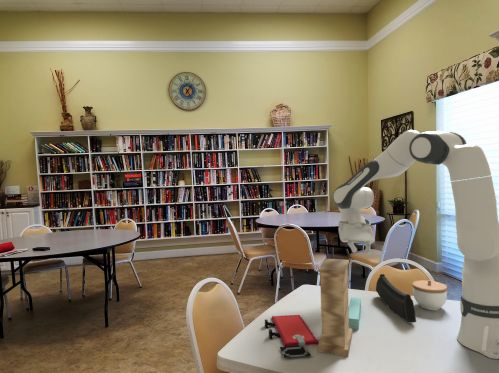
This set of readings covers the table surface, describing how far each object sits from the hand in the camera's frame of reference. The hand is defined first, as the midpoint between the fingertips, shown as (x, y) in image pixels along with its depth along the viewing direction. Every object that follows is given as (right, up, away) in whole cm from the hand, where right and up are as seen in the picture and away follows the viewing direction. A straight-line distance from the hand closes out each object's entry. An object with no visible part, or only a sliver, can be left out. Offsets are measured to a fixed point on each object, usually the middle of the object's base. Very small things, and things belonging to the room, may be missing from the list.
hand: (361, 252), depth 142 cm
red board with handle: (-34, -24, -27) cm, 50 cm away
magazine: (+11, -22, -7) cm, 25 cm away
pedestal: (-20, -23, -33) cm, 45 cm away
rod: (-7, -23, -13) cm, 27 cm away
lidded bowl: (+26, -21, -6) cm, 34 cm away
